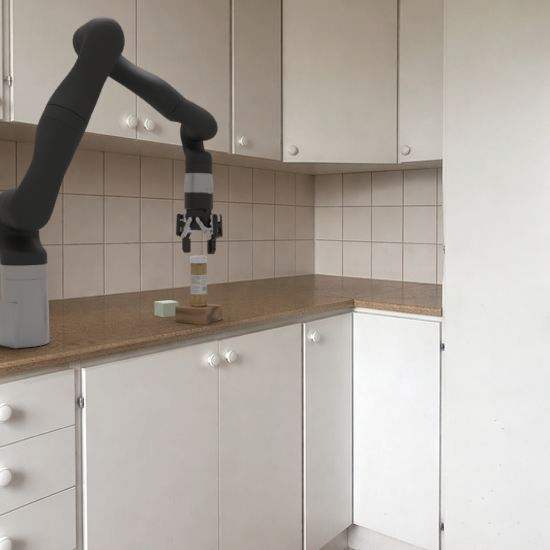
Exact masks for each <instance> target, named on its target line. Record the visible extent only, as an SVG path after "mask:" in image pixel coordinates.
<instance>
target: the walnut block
mask: <svg viewBox="0 0 550 550" xmlns="http://www.w3.org/2000/svg"><path fill="white" fill-rule="evenodd" d="M174 317H175V318H174V319H175V320H174V321H175V323H184V324H192V325H193V324H194V325H203V326H204V325H208V324H212V323H216V322H218V320H219V321H221V319H222V320H223V304H216V303H207V305H206V306H203V307H195V306H191V305H190V303H186V304H182V305H179V306H177V307H175V316H174Z"/></svg>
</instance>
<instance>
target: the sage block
mask: <svg viewBox="0 0 550 550" xmlns="http://www.w3.org/2000/svg"><path fill="white" fill-rule="evenodd" d="M177 306H180V302H179V301H176V300H171V299H169V300H158V301H157V300H156V301H154V316H155V317H160V318H170V317H175V307H177Z"/></svg>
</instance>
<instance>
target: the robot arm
mask: <svg viewBox="0 0 550 550" xmlns="http://www.w3.org/2000/svg"><path fill="white" fill-rule="evenodd" d="M125 41H126V39H125V33H124V31H123V28H122V26H121V25H120V23H119V22H118V21H116V20H115V19H114V18H112V17H110V16H109V17H108V16H97V17H95V18H92V19H90V20H89V21H87V22H85V23H84V24H82V25H81V26H79V27H78V28H77V29H76V30H75V31H74V33H73V35H72V47H73V50H74V53H75V54H76V56H77V57H76V58H77V59H76V60H75V62H74V65H73V66H72V68H71V69H70V71H68V73H67V75H66V76H65V77H63V80H62V81H60V83H59V85H58V86H57V87H56V89H54V91H53V93H52V95H51V96H50V98H49V99H48V101H47V102H46V104H45V107H44V110H42V113H41V116H40V118H39V120H38V122H37V126H36V129H35V136H34V145H33V153H32V154H33V155H32V159H31V161H30V164H29V166H28V169H27V170H26V173H25V174H24V176H23V178H22V180H21V182H20V184H19V185H18V187H15V188H14V187H13V188H10V189H7V190H4V191H3V192H1V193H0V293H1V299H0V346H2V347H6V348H11V349H20V348H31V347H32V348H34V347H39V346H43V345H47V344H49V343H50V316H49V315H50V312H49V283H48V282H49V279H48V277H49V276H48V275H49V274H48V272H49V271H48V252H47V251H46V249H45V248H44V246H43V244H42V243H41V239H40V230H42V229H44V227H46V225H47V224H48V223H49V222H50V220H51V217H52V215H53V212H54V209H55V207H56V206H55V205H56V202H57V199H58V196H59V192H60V189H61V186H62V183H63V180H64V178H65V176H66V173H67V171H68V169H69V167H70V165H71V163H72V161H73V159H74V156H75V154H76V152H77V149H78V147H79V145H80V143H81V141H82V139H83V136H84V135H85V132H86V130H87V127H88V126H89V123H90V120H91V118H92V115H93V112H94V110H95V108H96V106H97V104H98V101H99V98H100V95H101V94H102V90H103V87H104V85H105V83H106V81H107V80H108V77H109V78H110V79H112V80H113V81H115V82H117V83H118V84H120V85H121V86H122V87H125V88H126V89H128V90H129V91H130V92H132V93H133V94H135V95H136V96H137V97H139V98H140V99H141V100H142V101H144V102H145V103H147V104H148V105H149V106H150V107H151V108H152V109H154V110H155V111H156V112H157V113H158V114H160V115H161V116H162V117H164V118H165V119H166V120H168V121H170V122H173V123H178V124H180V127H179V136H180V141H181V145H182V150H183V155H184V157H185V158H184V159H185V161H184V163H185V164H184V167H185V168H184V169H185V171H184V173H185V174H184V182H183V183H184V184H183V185H184V189H183V191H184V192H183V193H184V194H183V195H184V196H183V197H184V202H183V204H184V206H183V207H184V209H185V211H186V212H185V213H177V214H176V222H175V223H176V225H175V234H176V236H177V237H180V238H181V241H182V242H181V243H182V245H181V246H182V252H183V253H184V254H187V253H188V254H189V253H191V252H192V249H191V247H192V246H191V245H192V244H191V243H192V242H191V241H192V240H191V236H192V235H193V233H195V231H202V232H203V234H205V236H206V237H207V241H206V243H207V244H206V246H207V247H206V250H207V252H206V253H207V254H208V255H215V253H216V251H217V249H216V248H217V239H220V238H222V237H223V235H224V234H223V216H222V214H220V213H213V212H212V210H213V209H214V178H213V155H212V154H211V152H209V151H206V150H205V144H204V141H205V142H206V141H209V140H212V139H214V137H216V135H217V133H218V132H219V131H218V129H219V127H218V121H217V120H216V119H215V117H214V116H213V114H211V113H210V112H209V111H208V110H206V109H205V108H204V107H202V106H200V105H198V104H197V103H195V102H194V101H192V100H189V99H187V98H186V97H184V95H183V94H181V93H180V92H179V91H178V90H177V89H175V87H173V86H172V85H171V84H170V83H168V82H167V81H166V80H164V79H163V78H161V77H160V76H158V75H156V74H154V73H152V72H149V71H148V70H146V69H143V68H142V67H139V66H138V65H136V64H135V63H133V62H131V61H130V60H129V59H127V58H126V57H125V56H124V55H122V53H124V52H123V51H124V50H125V49H124V48H125V43H126V42H125Z"/></svg>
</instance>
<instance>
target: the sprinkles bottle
mask: <svg viewBox="0 0 550 550" xmlns="http://www.w3.org/2000/svg"><path fill="white" fill-rule="evenodd" d="M189 263H190V276H189V277H190V279H189V280H190V281H189V282H190V283H189V284H190V286H189V287H190V288H189V289H190V303H189V304H190V305H191V306H195V307H203V306H206V305H207V304H208V301H207V297H208V296H207V294H208V274H207V272H208V271H207V268H208V267H207V265H208V256H207V255H201V254H195V255H190V257H189Z"/></svg>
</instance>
